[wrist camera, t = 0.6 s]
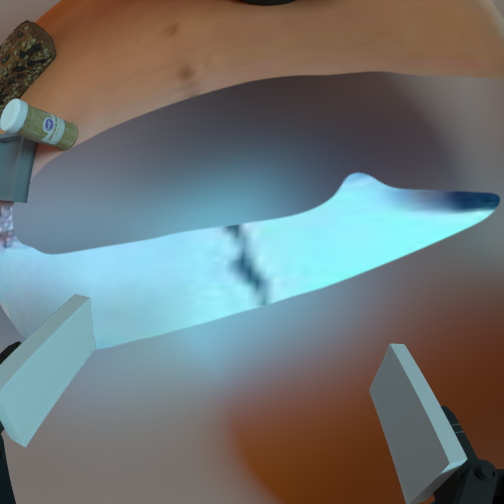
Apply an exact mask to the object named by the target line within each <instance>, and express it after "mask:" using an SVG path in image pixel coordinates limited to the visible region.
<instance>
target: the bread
mask: <svg viewBox="0 0 504 504" xmlns="http://www.w3.org/2000/svg"><path fill="white" fill-rule="evenodd" d="M55 56H56V50H55V47H54V43H53V40H52V38H51V37H50V35H49V34H48V33H47V32H46V31H45V30H44V29H42V28H41V27H40V26H39V25H38V24H36V23H34V22H30V21H28V20H27V21H24V22H23V23H21V24H20V25H19V26H18V27H17V28H16V29H15V30H14V31H13V32H12V33H11V34H10V35H9V36H8V38H7V39H6V40H5V42H4V43H3V44H2V45H1V46H0V119H1V115H2V113H3V110H4V109H5V107H6V105H7V104H8V103H9V102H10V101H11V100H13V99H20V97H21V96H22V95H23V93H24V92H25V91H26V90H27V89H28V88H29V87H30V85H31V84H32V83H33V81H34V80H35V79H36V78H38V76H39V75H40V74H41V73H42V72H43V71H44V70H45V69H46V67H48V66H49V64H50V62H51V61H52V60H53V59H54V58H55Z"/></svg>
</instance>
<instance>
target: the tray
mask: <svg viewBox="0 0 504 504" xmlns="http://www.w3.org/2000/svg"><path fill="white" fill-rule="evenodd" d="M37 143H38V142H37V141H34V140H30V139H28V138H26V137H23V136H20V135H17V134H10V133H5V134H0V200H3V201H14V202H25V203H27V197H28V191H29V184H30V178H31V172H32V167H33V162H34V157H35V152H36V147H37Z"/></svg>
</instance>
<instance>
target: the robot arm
mask: <svg viewBox="0 0 504 504" xmlns="http://www.w3.org/2000/svg"><path fill="white" fill-rule="evenodd" d="M240 1H243V2H247V3H251V4H259V5H275V4H283V3H288V2H292V1H295V0H240ZM95 348H96V346H95V339H94V332H93V324H92V316H91V307H90V298H89V297H85V296H81V295H77V294H75V295H74V296H73V297H72V298H71V299H69V300H68V301H67V302H66V303H65V304H64V305H63V306H61V307H60V308H59V309H58V310H57V311H56V312H55V313H54V314H53V315H51V316H50V317H49V318H48V319H47V320H46V321H45V322H44V323H43V324H42V325H41V326H40V327H38V328H37V329H36V330H35V331H34V332H33V333H32V334H31V335H30V336H29V337H28V338H27V339H26V340H25V341H24V342H23V343H21V342H19V341H18V342H16V343H14V344H12V345H10V346H8V347H7V348H6V349H5V350H4V351H3V352H2V353H1V354H0V504H16V502H15V499H14V494H13V490H12V486H11V481H10V477H9V472H8V466H7V461H6V455H5V448H4V441H3V438H2V436H1V433H2V431H3V430H4V429H5V430H6V432H7V434H8V435H9V437H10V439H12V440H14V441H15V442H17V443H19V444H20V445H22V446H24V447H26V446H27V444H28V443H29V441H30V440H31V438H32V437H33V435H34V434H35V432H36V430H37V429H38V428H39V426H40V425H41V423H42V422H43V420H44V419H45V417H46V416H47V414H48V413H49V411H50V410H51V409H52V407H53V405H54V404H55V403H56V401H57V400H58V399H59V397H60V396H61V394H62V393H63V392H64V390H65V389H66V387H67V386H68V384H69V383H70V382H71V380H72V379H73V378H74V376H75V375H76V374H77V372H78V371H79V370H80V368H81V367H82V365H83V364H84V363H85V361H86V360H87V359H88V357H89V356H90V355H91V353H92V352H93V351H94V350H95ZM369 391H370V394H371V397H372V399H373V402H374V405H375V408H376V411H377V413H378V416H379V419H380V422H381V425H382V428H383V431H384V434H385V437H386V440H387V443H388V445H389V449H390V452H391V455H392V458H393V461H394V465H395V468H396V471H397V474H398V478H399V481H400V484H401V488H402V491H403V494H404V498H405V501H406V504H416V503H421V502H424V501H425V500H426V499H427V498H429V497H430V496H431V495H432V494H434V497H435V500H434V501H433V502H432V503H431V504H504V469H496V468H495V467H494V466H493V465H492V463H490V462H489V461H487V460H479V459H478V458H477V456H476V454H475V452H474V450H473V448H472V446H471V445H470V442H469V440H468V439H467V437H466V435H465V433H463V429H462V428H461V426H460V425H459V422H458V420H457V418H456V417H455V415H454V413H453V412H451V411H450V410H449V409H448V408H447V407H446V406H440V405H439V403H438V401H437V399H436V398H435V396H434V394H433V392H432V391H431V389H430V387H429V385H428V384H427V382H426V380H425V378H424V377H423V375H422V373H421V371H420V370H419V368H418V366H417V365H416V363H415V361H414V360H413V358H412V356H411V355H410V353H409V351H408V350H407V348H406V346H405V345H404V344H389V347H388V349H387V351H386V354H385V356H384V359H383V361H382V363H381V365H380V368H379V370H378V372H377V374H376V376H375V378H374V380H373V382H372V384H371V387H370V389H369Z"/></svg>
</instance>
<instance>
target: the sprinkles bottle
mask: <svg viewBox="0 0 504 504" xmlns="http://www.w3.org/2000/svg"><path fill="white" fill-rule="evenodd" d="M0 128H1V130H2V131H4V132H7V133H10V134H17V135H20V136H23V137H26V138H28V139H30V140H34V141H37V142H40V143H43V144H46V145H49V146H54V147H57V148H59V149H61V150H67V149H69V148H70V147H72V145H73V144H74V143H75V140H76V138H77V134H78V131H77V127H76V126H75V125H74V124H72V123H69V122H66V121H64V120H62V119H61V118H59V117H57V116H54V115H52V114H50V113H47V112H45V111H43V110H40V109H37V108H35V107H32V106H30V105H28V104H27V103H26V102H24V101H22V100H20V99H13V100H11V101H10V102H9V103H8V104H7V105H6V107H5V109H4V110H3V113H2V115H1V119H0Z"/></svg>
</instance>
